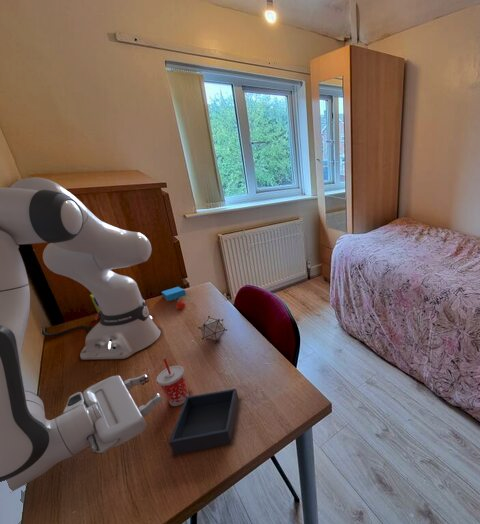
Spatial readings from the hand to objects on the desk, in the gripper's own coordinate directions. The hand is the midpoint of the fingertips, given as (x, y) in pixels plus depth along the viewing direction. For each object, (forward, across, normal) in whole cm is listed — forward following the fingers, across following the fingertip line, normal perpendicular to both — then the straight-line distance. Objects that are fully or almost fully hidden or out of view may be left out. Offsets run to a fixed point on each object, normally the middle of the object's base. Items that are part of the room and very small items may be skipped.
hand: (154, 386), depth 72 cm
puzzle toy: (+5, +63, +8) cm, 63 cm away
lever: (+24, +54, +8) cm, 60 cm away
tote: (+6, -14, +8) cm, 17 cm away
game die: (+22, +17, +8) cm, 29 cm away
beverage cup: (+4, 0, +8) cm, 9 cm away
